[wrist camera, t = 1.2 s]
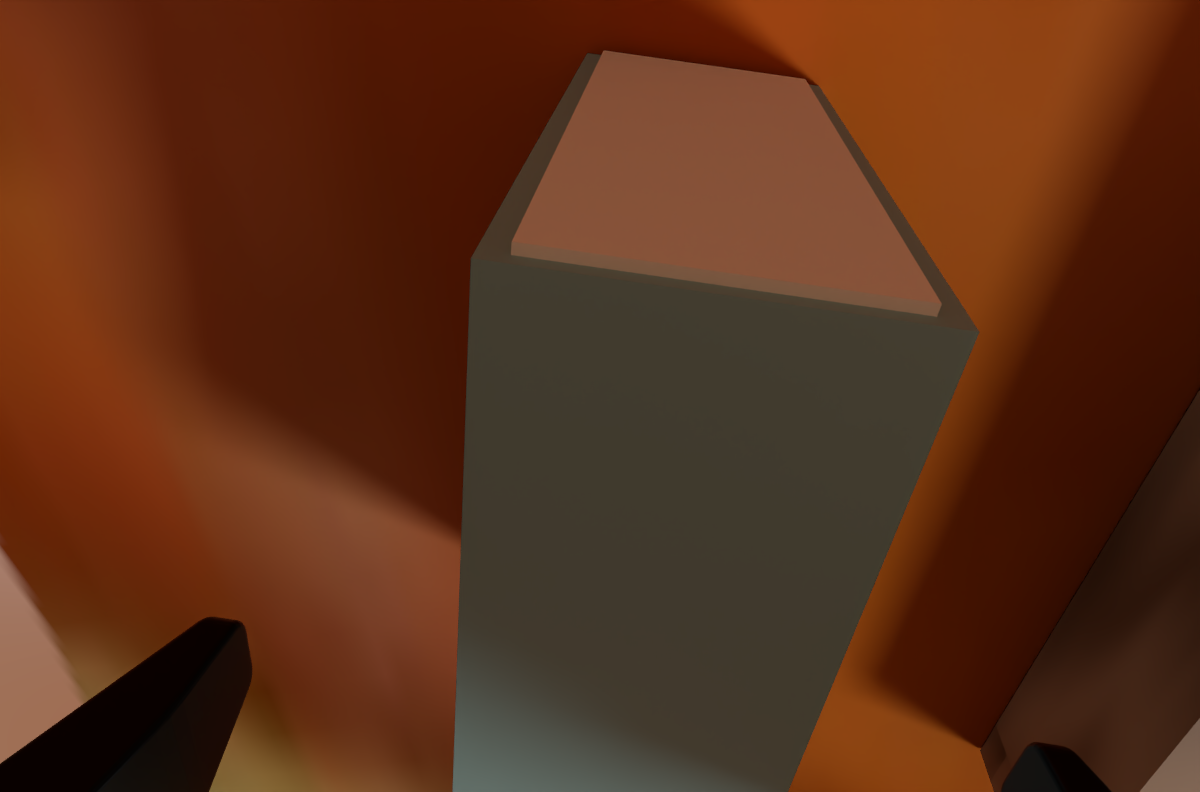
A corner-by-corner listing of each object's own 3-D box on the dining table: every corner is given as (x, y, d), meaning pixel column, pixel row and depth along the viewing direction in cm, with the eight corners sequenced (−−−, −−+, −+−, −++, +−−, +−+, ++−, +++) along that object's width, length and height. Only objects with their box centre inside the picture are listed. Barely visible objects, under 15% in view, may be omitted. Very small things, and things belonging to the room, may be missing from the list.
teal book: (689, 598, 18) (692, 1020, 11) (534, 574, 18) (445, 982, 12) (819, 77, 12) (984, 318, 6) (588, 45, 12) (471, 244, 6)
